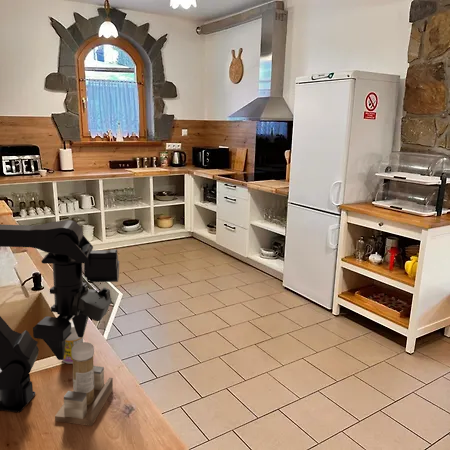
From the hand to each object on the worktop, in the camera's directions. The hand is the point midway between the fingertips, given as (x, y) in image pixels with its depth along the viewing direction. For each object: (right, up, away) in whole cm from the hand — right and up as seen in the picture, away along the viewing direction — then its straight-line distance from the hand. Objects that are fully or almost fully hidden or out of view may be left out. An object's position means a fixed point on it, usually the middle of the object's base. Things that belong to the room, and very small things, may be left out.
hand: (71, 347), depth 92 cm
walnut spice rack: (+3, -13, +2) cm, 14 cm away
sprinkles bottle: (+2, -12, +1) cm, 13 cm away
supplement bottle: (-6, -8, +18) cm, 21 cm away
